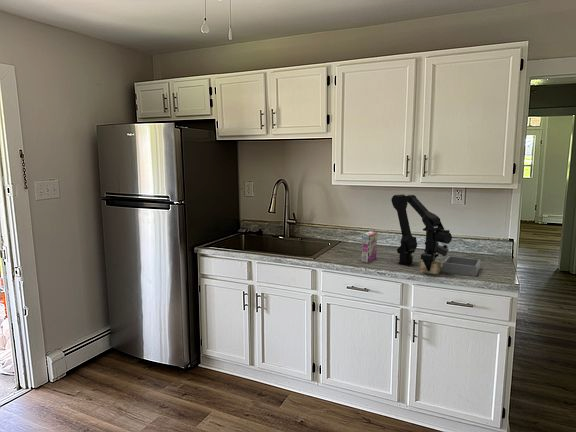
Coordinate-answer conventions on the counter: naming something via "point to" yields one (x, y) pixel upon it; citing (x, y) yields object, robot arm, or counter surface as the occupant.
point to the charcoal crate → (461, 265)
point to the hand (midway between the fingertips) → (430, 269)
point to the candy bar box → (369, 247)
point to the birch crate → (434, 267)
